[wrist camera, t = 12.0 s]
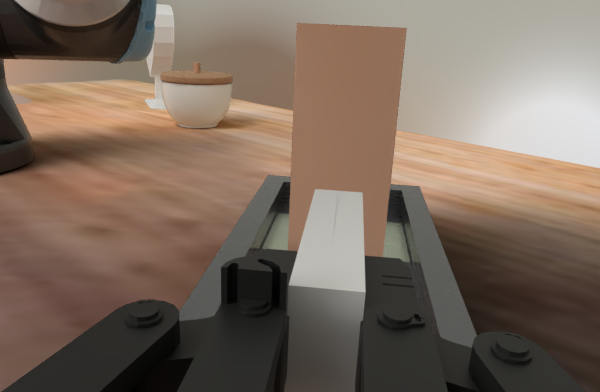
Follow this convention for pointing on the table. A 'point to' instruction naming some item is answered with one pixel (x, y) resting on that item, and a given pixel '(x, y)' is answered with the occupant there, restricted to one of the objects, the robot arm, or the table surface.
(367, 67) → the terracotta block
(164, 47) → the heart sculpture
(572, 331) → the table surface
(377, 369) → the robot arm
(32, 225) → the table surface
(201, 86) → the lidded jar
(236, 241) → the grey tray
